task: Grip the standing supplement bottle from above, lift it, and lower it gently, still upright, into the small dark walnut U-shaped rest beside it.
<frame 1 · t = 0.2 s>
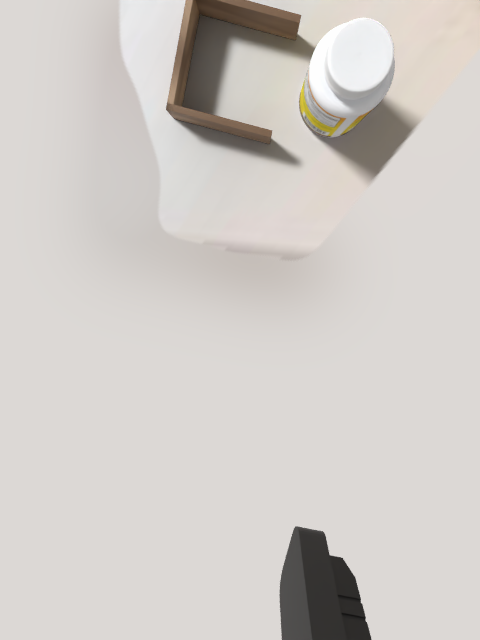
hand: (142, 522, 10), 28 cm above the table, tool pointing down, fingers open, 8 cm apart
walnut u rest: (233, 77, 33), on the table
supplement bottle: (330, 104, 33), on the table
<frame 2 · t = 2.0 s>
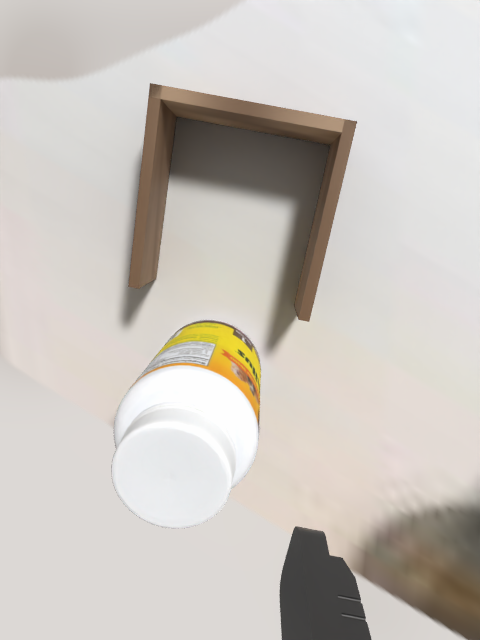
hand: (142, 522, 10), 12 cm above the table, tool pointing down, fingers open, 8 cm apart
walnut u rest: (239, 210, 20), on the table
supplement bottle: (213, 361, 22), on the table
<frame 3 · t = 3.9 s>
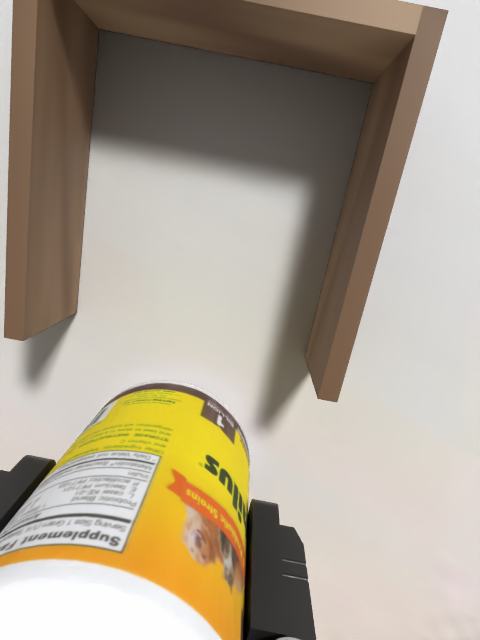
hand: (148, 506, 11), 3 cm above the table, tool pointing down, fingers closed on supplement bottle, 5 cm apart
walnut u rest: (212, 199, 12), on the table
supplement bottle: (174, 441, 14), on the table, touching gripper
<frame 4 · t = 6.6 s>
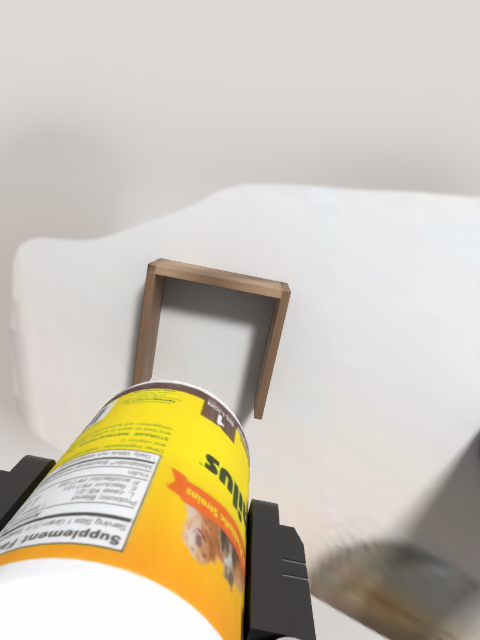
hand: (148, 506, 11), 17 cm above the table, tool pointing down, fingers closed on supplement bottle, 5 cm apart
walnut u rest: (213, 331, 27), on the table
supplement bottle: (174, 440, 14), point 14 cm above the table, touching gripper
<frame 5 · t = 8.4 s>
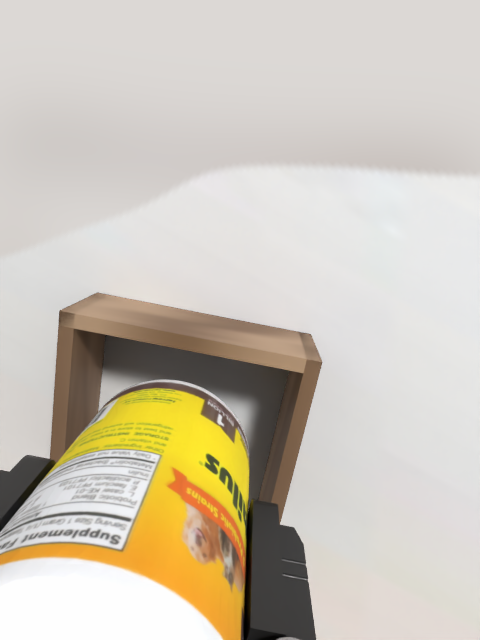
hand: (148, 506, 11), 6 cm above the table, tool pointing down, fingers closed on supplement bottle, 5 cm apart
walnut u rest: (187, 409, 17), on the table
supplement bottle: (174, 440, 14), point 3 cm above the table, touching gripper
when the fingers open (5 cm above the table, at t = 9.5 s): supplement bottle drops 2 cm, on the table.
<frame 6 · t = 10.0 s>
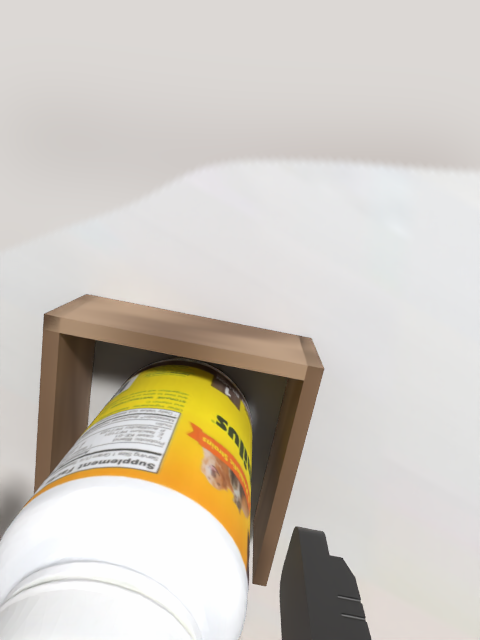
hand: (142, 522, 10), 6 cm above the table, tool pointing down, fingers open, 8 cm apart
walnut u rest: (182, 416, 16), on the table
supplement bottle: (185, 414, 16), on the table
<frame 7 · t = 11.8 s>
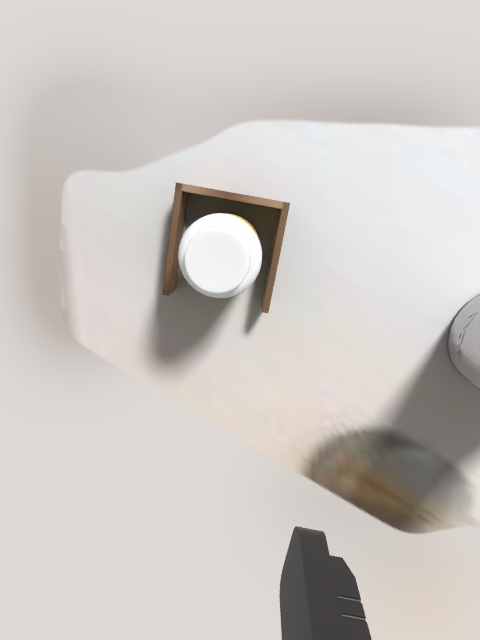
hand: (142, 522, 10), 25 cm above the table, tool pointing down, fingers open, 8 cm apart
walnut u rest: (226, 247, 33), on the table
supplement bottle: (228, 246, 33), on the table
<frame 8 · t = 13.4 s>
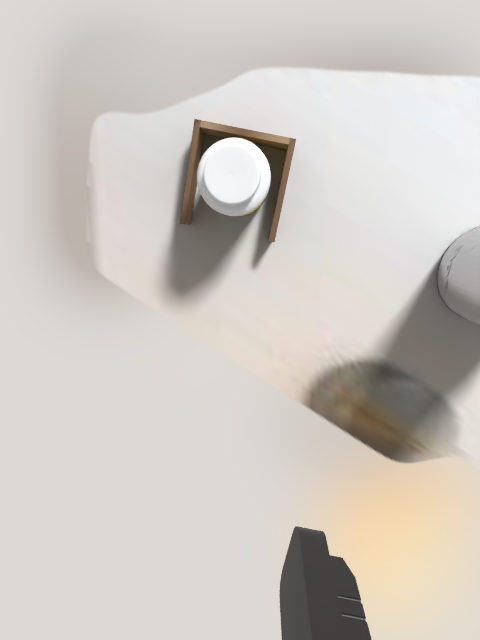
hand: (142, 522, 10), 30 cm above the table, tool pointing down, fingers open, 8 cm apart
walnut u rest: (237, 185, 37), on the table
supplement bottle: (238, 185, 37), on the table
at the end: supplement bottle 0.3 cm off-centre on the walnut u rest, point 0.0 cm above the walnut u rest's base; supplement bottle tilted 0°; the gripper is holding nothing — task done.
